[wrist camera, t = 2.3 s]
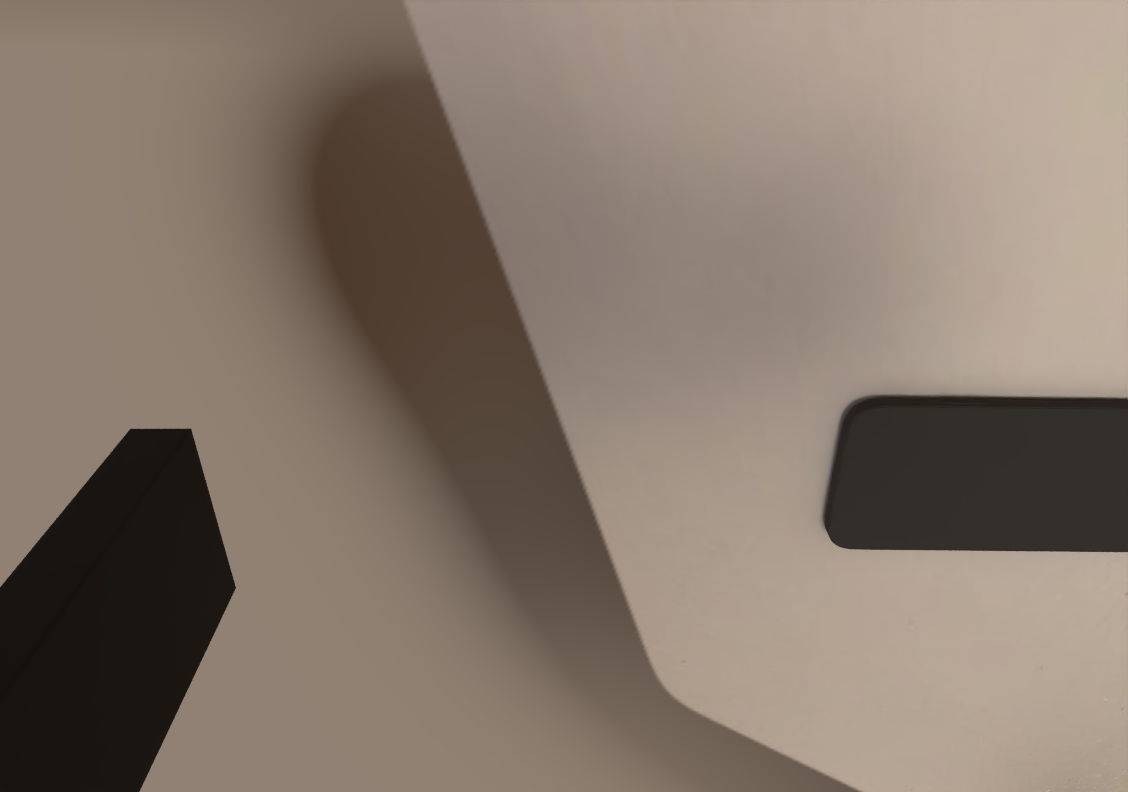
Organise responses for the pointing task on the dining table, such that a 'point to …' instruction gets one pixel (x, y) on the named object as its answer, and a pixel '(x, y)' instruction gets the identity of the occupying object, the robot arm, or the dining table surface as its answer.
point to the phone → (981, 476)
